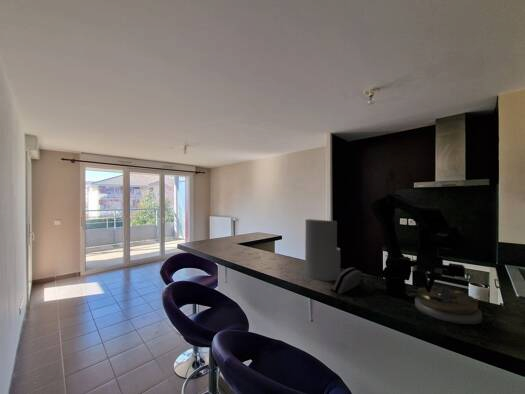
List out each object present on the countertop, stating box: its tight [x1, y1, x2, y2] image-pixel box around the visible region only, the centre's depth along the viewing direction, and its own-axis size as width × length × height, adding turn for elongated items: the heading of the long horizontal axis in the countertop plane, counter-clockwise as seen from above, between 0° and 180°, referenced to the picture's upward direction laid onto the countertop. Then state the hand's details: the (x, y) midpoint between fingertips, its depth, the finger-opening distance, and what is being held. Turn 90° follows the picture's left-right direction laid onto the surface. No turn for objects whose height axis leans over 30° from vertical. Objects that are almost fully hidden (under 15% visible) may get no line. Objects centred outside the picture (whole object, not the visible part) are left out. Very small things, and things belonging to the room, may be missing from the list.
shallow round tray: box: [417, 285, 479, 315], centre depth 81 cm, size 16×16×7 cm
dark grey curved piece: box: [329, 267, 363, 295], centre depth 102 cm, size 17×5×10 cm, turn 133°
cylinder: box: [304, 218, 341, 282], centre depth 121 cm, size 17×17×28 cm
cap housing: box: [414, 295, 483, 325], centre depth 81 cm, size 18×18×2 cm
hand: (428, 292), depth 79 cm, fingers closed
